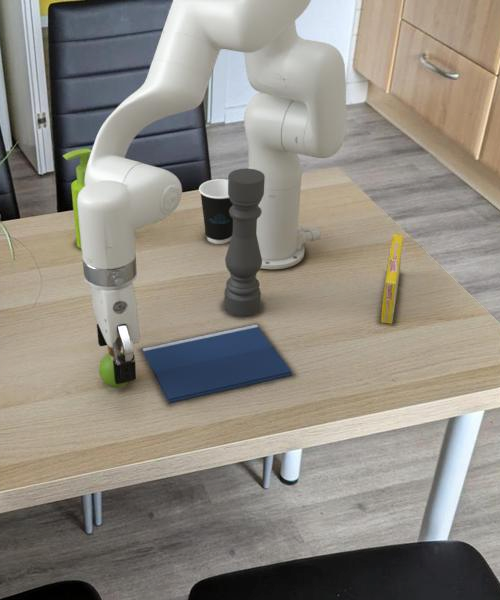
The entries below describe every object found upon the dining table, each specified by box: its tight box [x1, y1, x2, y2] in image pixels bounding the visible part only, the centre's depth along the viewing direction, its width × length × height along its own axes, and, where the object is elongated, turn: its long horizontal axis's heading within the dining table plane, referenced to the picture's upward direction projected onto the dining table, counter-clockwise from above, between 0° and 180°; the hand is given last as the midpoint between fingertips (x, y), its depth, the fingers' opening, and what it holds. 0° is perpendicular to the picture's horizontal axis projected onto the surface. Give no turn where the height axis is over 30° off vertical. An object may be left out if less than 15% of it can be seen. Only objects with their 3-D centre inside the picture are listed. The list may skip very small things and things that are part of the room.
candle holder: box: [223, 167, 265, 318], centre depth 138 cm, size 6×6×25 cm
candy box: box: [380, 233, 404, 325], centre depth 142 cm, size 16×2×8 cm, turn 161°
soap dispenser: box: [62, 147, 92, 250], centre depth 161 cm, size 6×7×20 cm
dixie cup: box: [198, 178, 233, 245], centre depth 162 cm, size 8×8×11 cm
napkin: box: [141, 323, 293, 404], centre depth 132 cm, size 20×14×1 cm
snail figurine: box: [98, 338, 130, 388], centre depth 127 cm, size 5×6×12 cm
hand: (116, 361), depth 127 cm, fingers open, 9 cm apart
